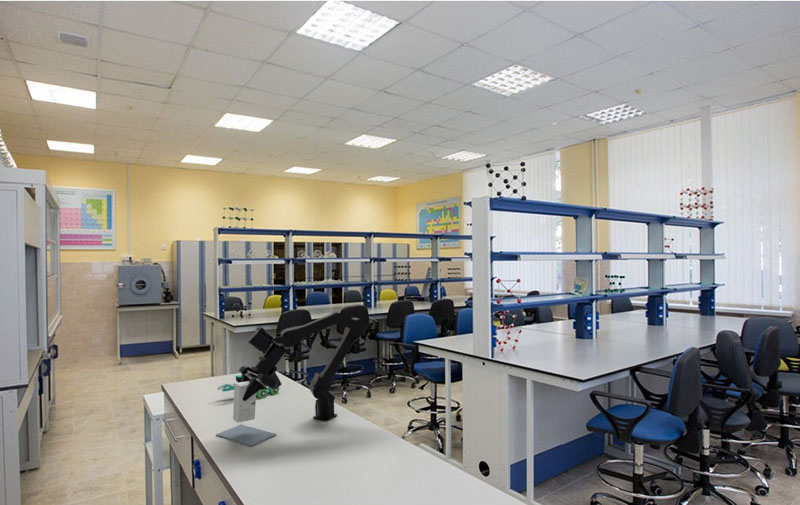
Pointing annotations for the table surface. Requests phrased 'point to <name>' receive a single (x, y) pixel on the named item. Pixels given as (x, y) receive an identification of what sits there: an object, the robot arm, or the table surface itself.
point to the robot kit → (260, 393)
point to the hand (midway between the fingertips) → (240, 398)
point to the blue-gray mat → (246, 435)
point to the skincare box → (243, 403)
